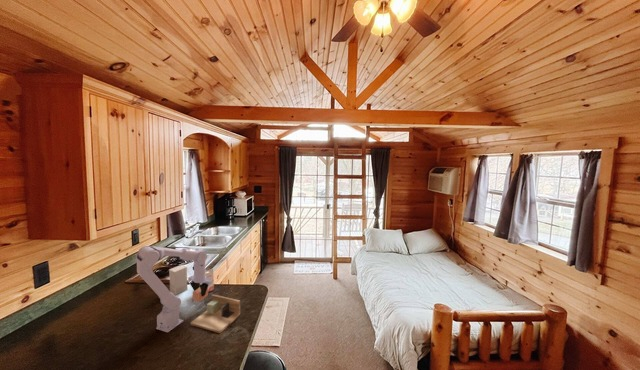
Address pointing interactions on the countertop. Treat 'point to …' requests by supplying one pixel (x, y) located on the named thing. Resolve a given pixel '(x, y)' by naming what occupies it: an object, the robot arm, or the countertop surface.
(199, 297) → the salmon orange block
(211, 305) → the sage green block
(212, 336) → the countertop surface
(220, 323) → the shelf
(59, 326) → the countertop surface
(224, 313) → the bookend
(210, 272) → the ink cartridge box
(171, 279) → the skincare box
